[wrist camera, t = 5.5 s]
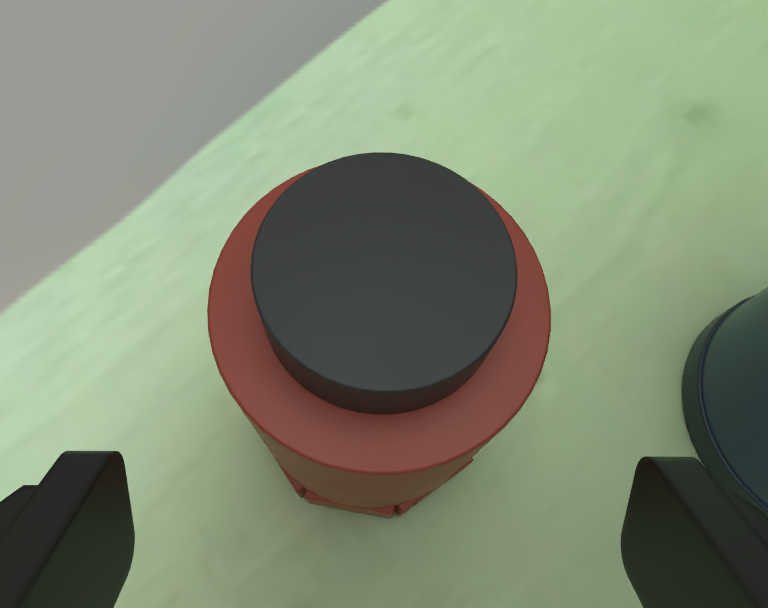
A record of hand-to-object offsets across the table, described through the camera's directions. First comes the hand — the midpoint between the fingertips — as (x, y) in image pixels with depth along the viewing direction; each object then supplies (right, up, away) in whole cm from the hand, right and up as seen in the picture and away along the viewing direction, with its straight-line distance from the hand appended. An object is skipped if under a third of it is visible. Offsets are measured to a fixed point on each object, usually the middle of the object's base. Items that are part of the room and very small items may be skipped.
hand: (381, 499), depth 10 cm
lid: (0, 0, +9) cm, 9 cm away
